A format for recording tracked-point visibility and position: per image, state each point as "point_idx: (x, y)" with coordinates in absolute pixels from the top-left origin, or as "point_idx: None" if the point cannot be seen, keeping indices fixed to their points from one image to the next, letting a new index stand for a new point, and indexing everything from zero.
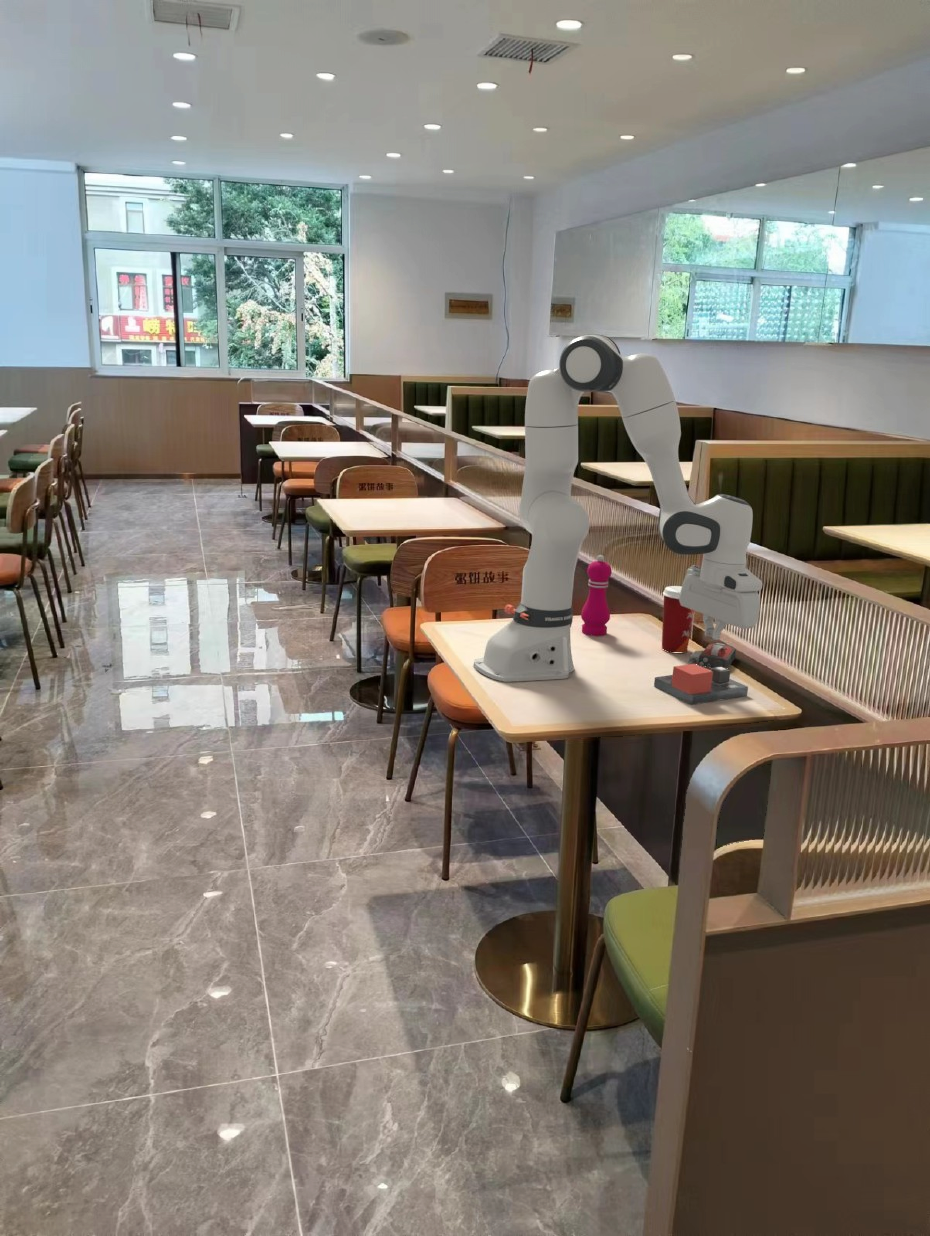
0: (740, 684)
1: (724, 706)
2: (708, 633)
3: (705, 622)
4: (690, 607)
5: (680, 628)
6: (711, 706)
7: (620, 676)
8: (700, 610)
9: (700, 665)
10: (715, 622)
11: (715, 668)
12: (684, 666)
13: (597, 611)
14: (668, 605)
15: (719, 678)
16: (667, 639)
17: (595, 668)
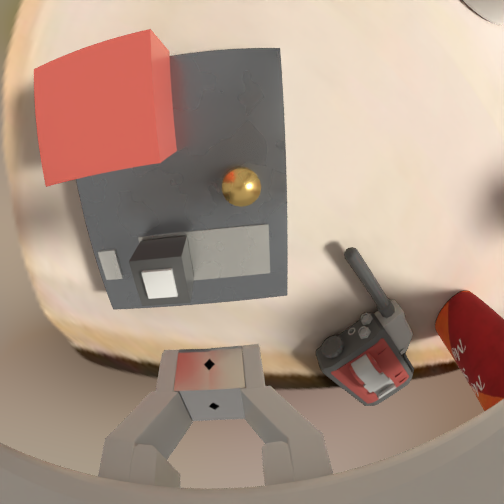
0: (132, 302)
1: None
2: (221, 363)
3: (275, 421)
4: (482, 428)
5: (474, 346)
6: None
7: (387, 32)
8: (362, 492)
9: (365, 314)
10: (149, 454)
11: (170, 268)
12: (132, 83)
13: None
14: None
15: (136, 248)
16: (476, 307)
17: (450, 33)
